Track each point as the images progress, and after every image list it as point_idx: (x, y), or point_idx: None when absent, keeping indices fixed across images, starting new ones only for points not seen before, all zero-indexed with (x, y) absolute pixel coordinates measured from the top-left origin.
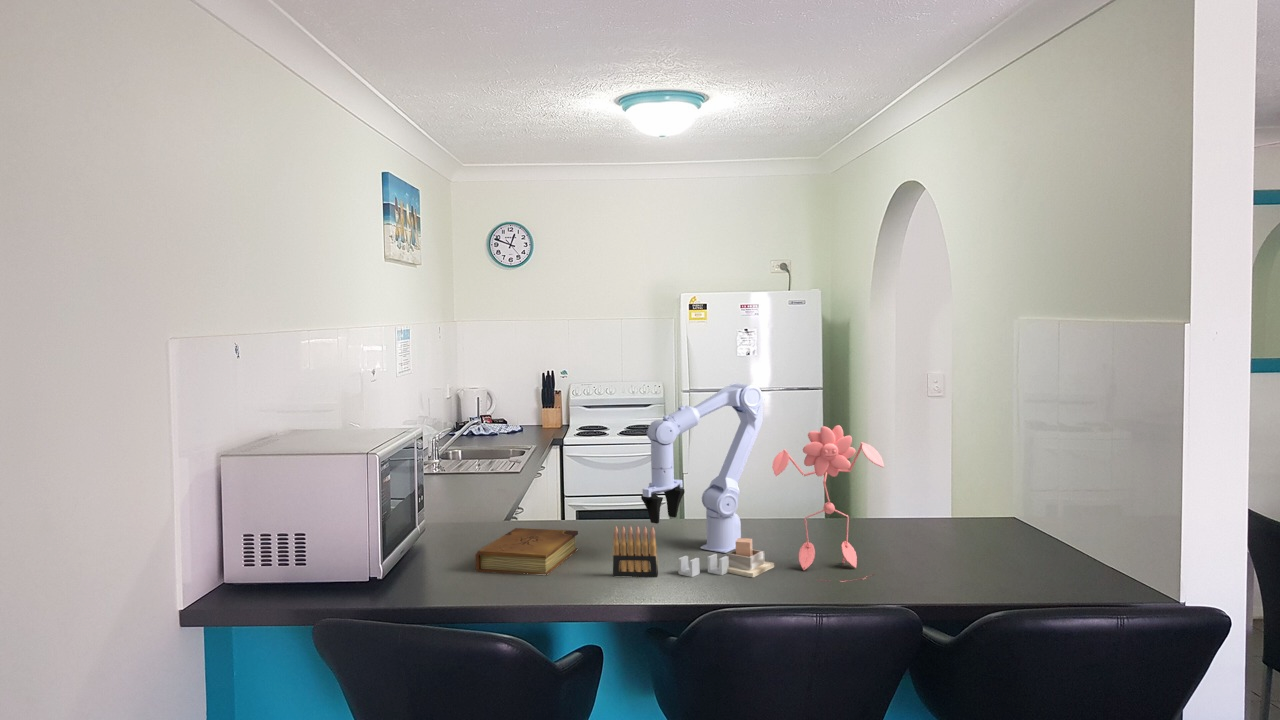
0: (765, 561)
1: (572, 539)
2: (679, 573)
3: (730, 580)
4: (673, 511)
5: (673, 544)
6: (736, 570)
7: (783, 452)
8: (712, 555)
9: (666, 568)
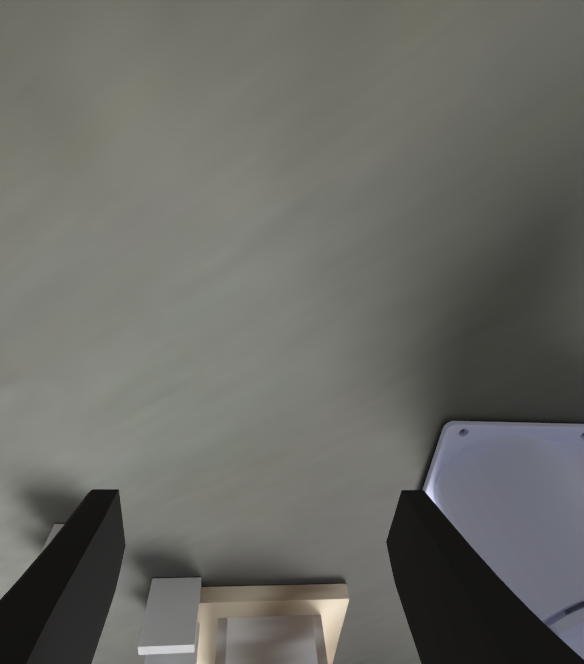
0: (331, 662)
1: None
2: (52, 531)
3: (127, 647)
4: (409, 584)
5: (497, 259)
6: None
7: None
8: (168, 649)
9: (85, 451)
